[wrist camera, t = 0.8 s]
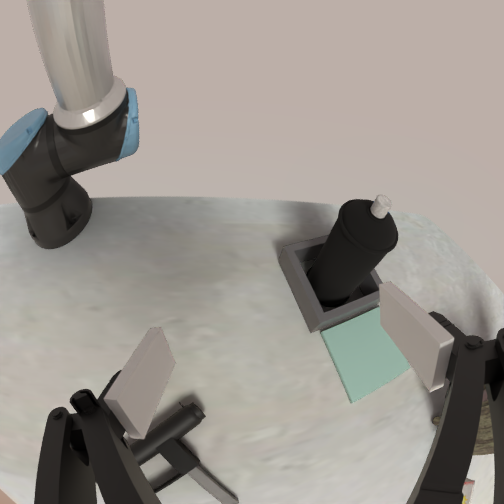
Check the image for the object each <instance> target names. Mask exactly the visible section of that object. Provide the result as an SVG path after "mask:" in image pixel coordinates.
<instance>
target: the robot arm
mask: <svg viewBox="0 0 504 504" xmlns="http://www.w3.org/2000/svg"><path fill="white" fill-rule="evenodd" d="M27 5H28V9H29V14H30V18H31V22H32V26H33V30H34V33H35V37H36V40H37V44H38V47H39V51H40V54H41V57H42V60H43V63H44V66H45V69H46V72H47V75H48V77H49V80H50V83H51V85H52V88H53V91H54V93H55V96H56V98H57V103H56V105H55V107H54V111H53V114H51V115H48V112H47V111H46V110H45V109H44V108H40V109H35V110H33V111H31V112H29V113H28V114H26V115H25V116H23V117H22V118H21V119H19V120H18V121H17V122H15V123H14V124H13V125H12V126H11V127H10V128H9V129H8V130H7V131H6V132H5V133H4V135H3V136H2V137H1V139H0V174H1V175H2V177H3V178H4V180H5V182H6V183H7V185H8V187H9V189H10V190H11V192H12V194H13V195H14V197H15V198H16V200H17V202H18V203H19V205H20V206H21V208H22V209H23V211H24V214H25V218H26V222H27V226H28V229H29V233H30V235H31V237H32V238H33V240H34V241H35V242H36V244H37V245H38V246H40V247H42V248H45V249H54V248H58V247H61V246H63V245H65V244H67V243H68V242H70V241H71V240H73V239H74V238H75V237H76V236H77V235H78V234H79V233H80V232H81V231H82V230H83V229H84V227H85V226H86V224H87V222H88V220H89V218H90V215H91V211H92V204H91V200H90V198H89V196H88V194H87V192H86V191H85V190H84V189H83V188H82V187H81V186H80V185H79V184H78V183H77V182H76V181H75V180H74V179H73V178H72V177H71V175H74V174H77V173H80V172H83V171H85V170H89V169H92V168H95V167H98V166H101V165H104V164H108V163H111V162H114V161H119V160H120V159H122V158H124V157H127V156H130V155H132V154H134V153H135V152H136V151H137V149H138V146H139V122H138V103H137V96H136V91H135V89H134V88H126V86H125V84H124V82H123V80H121V79H120V78H118V77H116V76H113V71H112V66H111V60H110V53H109V46H108V38H107V31H106V21H105V11H104V0H27ZM379 291H380V325H381V326H382V327H383V329H384V330H385V331H386V333H387V334H388V335H389V337H390V338H391V339H392V340H393V342H394V343H395V344H396V346H397V347H398V348H399V350H400V351H401V353H402V354H403V355H404V357H405V358H406V359H407V361H408V362H409V363H410V365H411V366H412V368H413V369H414V370H415V372H416V373H417V375H418V376H419V377H420V379H421V380H422V382H423V383H424V384H425V386H426V387H427V389H428V390H429V392H432V391H434V390H436V389H439V388H441V387H443V386H444V382H445V378H446V377H447V378H448V380H449V381H450V384H449V387H448V391H447V394H446V397H445V398H446V400H445V404H444V408H443V412H442V415H441V419H440V422H439V425H438V428H437V432H436V435H435V438H434V441H433V443H432V446H431V449H430V452H429V454H428V457H427V460H426V462H425V464H424V467H423V469H422V472H421V474H420V476H419V478H418V481H417V483H416V485H415V487H414V489H413V491H412V493H411V495H410V497H409V499H408V501H407V503H406V504H462V501H463V497H464V494H463V493H462V489H463V486H464V483H465V480H466V477H467V473H468V470H469V466H470V463H471V459H472V455H473V451H474V447H475V442H476V438H477V433H478V427H479V421H480V415H481V408H482V400H483V391H484V385H485V387H486V392H487V397H488V403H489V409H490V415H491V423H492V432H493V443H494V461H495V485H494V503H493V504H504V328H502V329H500V330H499V331H498V334H497V337H496V339H494V340H490V341H484V340H483V339H482V338H480V337H478V336H473V335H472V336H466V335H465V334H463V333H462V332H461V331H460V330H459V329H458V328H457V327H455V326H454V325H453V324H452V323H451V322H450V321H449V320H448V321H447V319H446V318H445V317H444V316H443V315H441V314H439V313H436V312H434V311H433V312H431V313H427V312H426V311H425V310H423V309H422V308H421V307H420V306H419V305H418V304H417V303H415V302H414V301H413V300H412V299H411V298H410V297H409V296H407V295H406V294H405V293H404V292H403V291H401V290H400V289H399V288H398V287H397V286H396V285H394V284H393V283H392V282H391V281H390V282H386V283H382V284H379ZM175 364H176V362H175V359H174V357H173V355H172V352H171V350H170V348H169V345H168V343H167V340H166V338H165V335H164V333H163V330H162V328H161V327H156V328H150V329H149V331H148V332H147V334H146V335H145V337H144V338H143V340H142V341H141V343H140V344H139V345H138V347H137V348H136V350H135V351H134V353H133V354H132V356H131V357H130V359H129V360H128V362H127V363H126V365H125V366H124V368H123V369H122V370H120V371H118V372H117V373H116V374H115V375H114V376H113V377H112V378H111V380H110V381H109V383H108V384H107V386H106V388H105V389H104V390H103V392H102V393H101V395H100V396H99V398H98V399H96V398H95V396H94V394H93V393H92V391H91V390H89V389H83V390H79V391H78V392H76V393H75V394H73V395H72V397H71V398H70V403H71V405H72V406H73V408H74V409H75V410H76V412H77V413H74V414H70V413H69V412H68V410H67V409H66V408H64V407H58V408H55V409H53V410H52V411H51V412H50V414H49V416H48V419H47V423H46V427H45V432H44V436H43V441H42V446H41V452H40V458H39V464H38V471H37V479H36V488H35V500H34V504H97V498H96V485H95V478H96V481H97V483H98V486H99V489H100V492H101V494H102V497H103V499H104V502H105V504H161V502H160V500H159V499H158V497H157V496H156V494H155V493H154V491H153V489H152V488H151V486H150V484H149V483H148V481H147V479H146V477H145V476H144V474H143V472H142V470H141V468H140V467H139V465H138V463H137V461H136V459H135V457H134V455H133V453H132V451H131V449H130V447H129V445H128V443H127V441H126V439H125V438H124V437H123V435H124V433H125V431H126V432H127V433H128V435H129V436H130V437H131V438H135V439H144V438H145V436H146V433H147V431H148V428H149V426H150V424H151V421H152V419H153V416H154V414H155V411H156V409H157V406H158V404H159V402H160V399H161V397H162V394H163V392H164V390H165V387H166V385H167V383H168V380H169V378H170V375H171V373H172V371H173V368H174V366H175Z"/></svg>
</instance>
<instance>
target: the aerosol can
mask: <svg viewBox="0 0 504 504" xmlns="http://www.w3.org/2000/svg"><path fill="white" fill-rule="evenodd" d="M391 206H392V202H391V200H390V199H389V198H388V197H386V196H385V195H378V196H377V198H376V199H375V201H371V200H360V199H356V200H350V201H348V202H346V203H344V204H343V205H342V206H341V208H340V210H339V214H338V219H337V221H336V223H335V225H334V227H333V228H332V230H331V232H330V234H329V236H328V238H327V240H326V242H325V244H324V246H323V247H322V249H321V251H320V253H319V255H318V257H317V259H316V260H315V262H314V264H313V266H312V267H311V268H310V269H309V270H308V272H307V274H306V276H307V278H308V280H309V282H310V284H311V286H312V289H313V291H314V293H315V295H316V297H317V299H318V301H319V303H320V304H321V305H324V306H327V307H336V306H340V305H342V304H344V303H345V302H346V301H347V300H348V299H349V297H350V295H351V294H352V292H353V291H354V290H355V289H356V288H357V287H358V286H359V285H360V284H361V283H362V282H363V280H364V279H365V278H366V277H367V276H368V275H369V274H370V273H371V271H372V270H373V269H374V268H375V267H376V266H377V264H378V263H379V262H380V261H381V260H382V259H383V257H384V256H385V255H386V254H387V253H388V252H390V251H391V250H393V249H394V247H395V246H396V244H397V241H398V231H397V228H396V225H395V223H394V220H393V218H392V216H391V214H390V213H389V212H388V211H389V209H390V208H391Z"/></svg>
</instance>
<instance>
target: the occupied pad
mask: <svg viewBox="0 0 504 504" xmlns="http://www.w3.org/2000/svg"><path fill="white" fill-rule="evenodd" d="M321 336H322V338H323V340H324V342H325V344H326V347H327V349H328V351H329V353H330V356H331V358H332V360H333V363H334V365H335V367H336V369H337V372H338V374H339V376H340V379H341V381H342V383H343V386H344V388H345V390H346V393H347V395H348V397H349V400H350V402H351V403H353V402H355V401H357V400H359V399H361V398H362V397H364V396H366V395H368V394H369V393H371V392H373V391H375V390H376V389H378V388H380V387H381V386H383V385H384V384H386V383H388V382H389V381H391V380H392V379H394V378H395V377H397V376H398V375H400V374H401V373H403V372H404V371H406V370H407V369H409V368H410V366H409V364H408V361H407V359H406V358H405V357H404V355H403V354H402V353H401V351H400V350H399V348H398V347H397V346H396V344H395V343H394V342H393V340H392V339H391V338H390V337H389V335H388V334H387V333H386V331H385V330H384V329H383V327H382V326H381V325H380V306H379V307H377V308H375V309H373V310H371V311H369V312H367V313H364V314H362V315H360V316H358V317H356V318H353V319H351V320H349V321H346V322H344V323H342V324H339V325H337V326H335V327H332V328H330V329H327V330H325V331H322V332H321Z"/></svg>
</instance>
